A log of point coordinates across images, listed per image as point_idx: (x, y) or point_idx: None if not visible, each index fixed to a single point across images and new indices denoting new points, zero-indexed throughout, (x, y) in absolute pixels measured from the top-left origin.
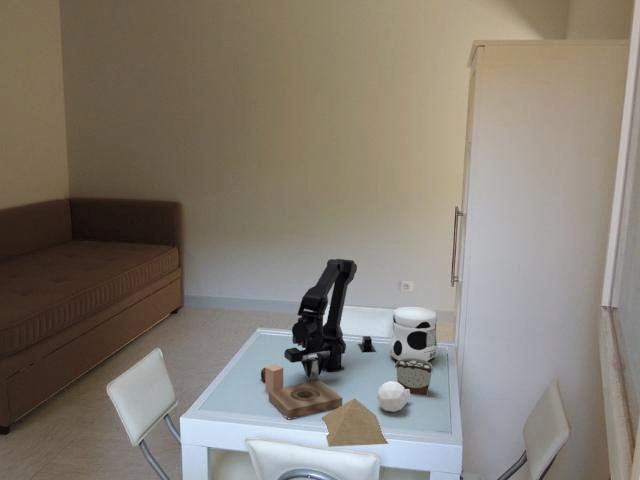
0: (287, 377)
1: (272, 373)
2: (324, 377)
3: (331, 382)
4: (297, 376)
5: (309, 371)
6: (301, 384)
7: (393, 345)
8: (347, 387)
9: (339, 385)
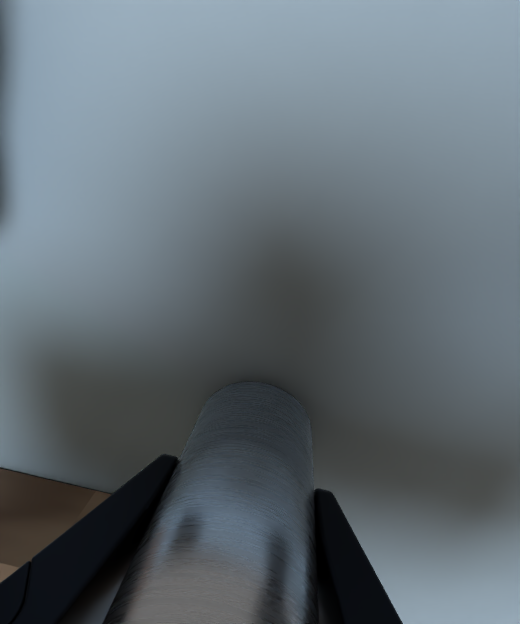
0: (95, 121)
1: None
2: (463, 386)
3: (418, 498)
4: (221, 172)
5: None
6: (8, 565)
7: None
8: (442, 616)
9: (423, 566)
